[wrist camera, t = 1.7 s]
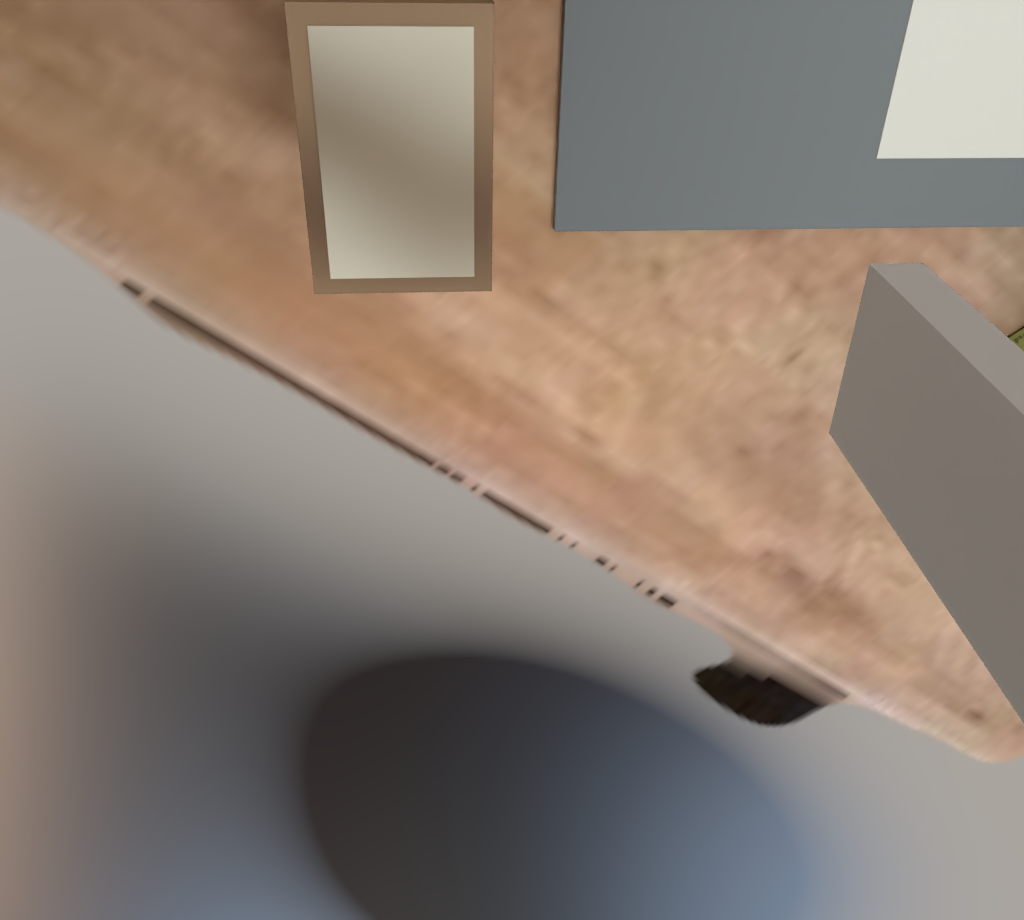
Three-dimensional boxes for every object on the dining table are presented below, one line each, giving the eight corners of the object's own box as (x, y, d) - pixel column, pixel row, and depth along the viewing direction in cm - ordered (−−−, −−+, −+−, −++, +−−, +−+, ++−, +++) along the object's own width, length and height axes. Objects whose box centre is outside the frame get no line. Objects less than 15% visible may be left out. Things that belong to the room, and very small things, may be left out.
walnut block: (330, -67, 28) (283, 2, 18) (466, -65, 28) (494, 4, 18) (345, 141, 31) (314, 295, 21) (467, 141, 32) (491, 292, 22)
